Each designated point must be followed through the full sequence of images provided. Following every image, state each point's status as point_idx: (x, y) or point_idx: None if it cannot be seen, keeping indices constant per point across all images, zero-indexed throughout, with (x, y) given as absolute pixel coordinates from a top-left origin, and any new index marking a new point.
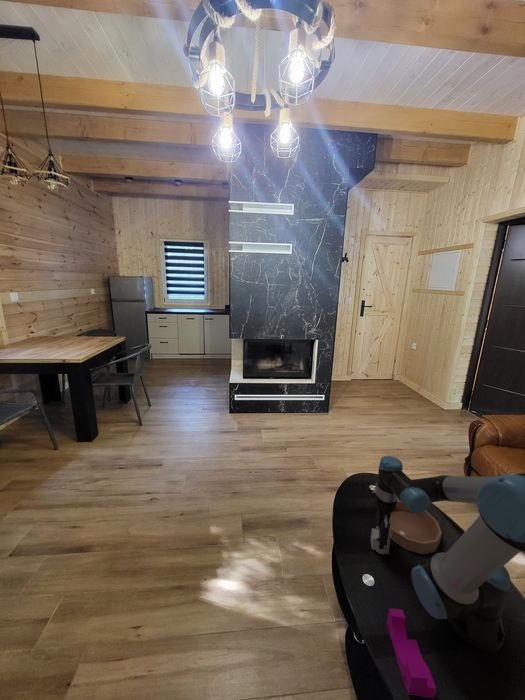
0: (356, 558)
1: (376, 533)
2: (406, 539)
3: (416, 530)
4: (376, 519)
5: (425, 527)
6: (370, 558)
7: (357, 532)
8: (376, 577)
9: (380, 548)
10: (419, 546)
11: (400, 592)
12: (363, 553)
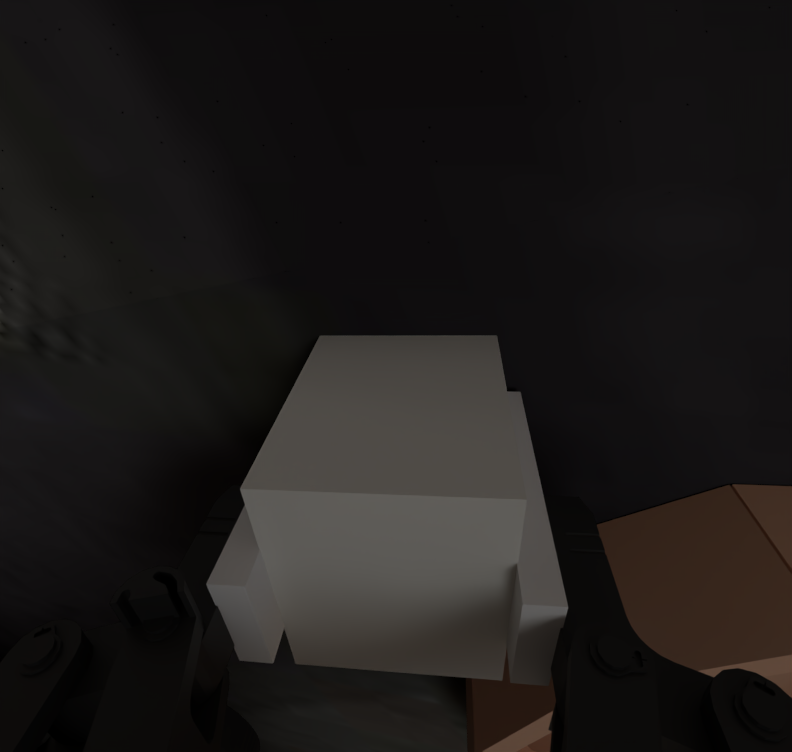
0: (79, 120)
1: (401, 548)
2: (481, 739)
3: None
4: (750, 680)
5: None
6: (204, 318)
7: (623, 127)
8: (12, 362)
9: (222, 508)
10: (468, 746)
11: (35, 514)
12: (228, 231)
